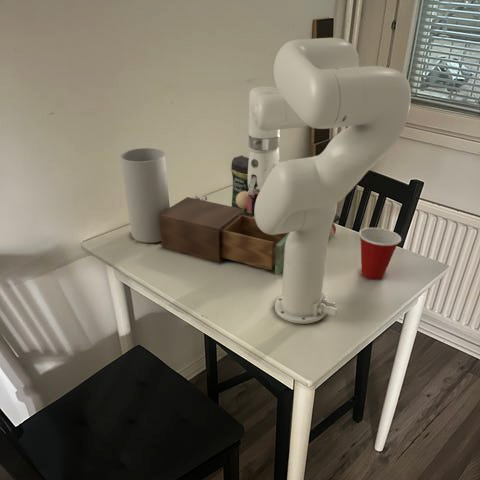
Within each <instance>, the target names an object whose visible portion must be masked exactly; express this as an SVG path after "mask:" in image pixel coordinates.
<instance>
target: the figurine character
mask: <svg viewBox="0 0 480 480" xmlns="http://www.w3.org/2000/svg"><path fill="white" fill-rule="evenodd" d="M341 220H342V217H341V216H339V215H337V214H335V218H334V221H333V224H332V227H331V230H330V234H329V238H332V237H333V236H334V235H335V234H336V232H337V226H336V224H335V223H337V222H338V221H341Z"/></svg>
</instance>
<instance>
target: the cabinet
mask: <svg viewBox="0 0 480 480" xmlns="http://www.w3.org/2000/svg"><path fill="white" fill-rule="evenodd" d="M239 215H244V209H240V208H236V207H232V205H231V206H230V205H227V204H221V203H216V202H212V201H208V200H206V201H203V200H199V199H196V198H195V197H189V196H187V197H184V198H183V199H181V200H180V201H179V202H177V203H175V204H174V205H172V206H170V208H169V209H167V210H165V211H164V212H162V213H161V214H159V220H160V230H161V239H162V241H161V248H162V249H164V250H168V251H172V252H175V253H179V254H182V255H186V256H189V257H193V258H198V259H201V260H204V261H209V262H212V263H216V264H221V263H222V262H223V261H224V260H226V258H222V257H221V248H220V230H221V229H223V228H224V227H225V226H226V225H228V224H229V223H230V222H232V221H233V220H234V219H235V218H237V217H238V216H239Z"/></svg>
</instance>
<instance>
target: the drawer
mask: <svg viewBox="0 0 480 480" xmlns="http://www.w3.org/2000/svg"><path fill="white" fill-rule="evenodd" d="M289 233H290V232H288V233H282V234H276V235H269V234H266V233H264V232H262V231H261V230H260V229H259V227H258V226H257V224H256V221H255V216H250V217H249V216H244V215H239V216H238V217H237V218H235V219H234V220H233V221H232V222H230V223H229V224H228V225H226V226H225V227H224V228H223V229H221V230H220V248H221V257H222V258H225V260H230V261H234V262H238V263H241V264H246V265H250V266H253V267H257V268H260V269H265V270H268V271H273V270H274V275H276V276H280V274H281V273H283V268H284V251H285V243H286V240H287V237H288V235H289Z"/></svg>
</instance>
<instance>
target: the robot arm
mask: <svg viewBox="0 0 480 480" xmlns="http://www.w3.org/2000/svg"><path fill="white" fill-rule="evenodd" d="M359 57H360V56H359V53H358V50H357V49H356V48H355V46H354V45H353V44H352V43H351V42H349V41H348V40H346V39H343V38H339V37H319V38H303V39H302V38H301V39H293V40H289V41H287V42H285V43H283V45H282V46H281V47H280V48H279V50H278V51H277V53H276V56H275V59H274V63H273V79H274V84H275V86H276V87H275V86H269V85H268V86H267V85H265V86H263V85H262V86H256V87H253V88H252V89H251V90H250V91H249V94H248V150H249V156H248V158H249V163H248V188H249V191H248V195H249V196H250V197H251V201H252V214H253V215H255V216H254V218H255V221H256V224H257V226H258V227H259V229H260V230H261V231H262V232H264V233H266V234H269V235H276V234H282V233H288V232H290V233H289V235H288V237H287V240H286V243H285V251H284V268H283V271H282V285H281V286H282V287H281V295H280V296H278V297H277V299H276V300H275V303H274V311H275V313H276V314H277V315H278V317H280V318H281V319H282V320H285V321H287V322H290V323H292V324H301V325H303V324H304V325H306V324H313V323H315V322H318V321H320V320H322V319H323V318H324V317H325V316H326V315H328V316H333V317H336V316H337V313H338V308H336V304H337V303H336V302H333V301H329V300H328V299H326V293H325V292H323V289H324V288H323V287H324V278H325V269H326V262H327V254H328V245H329V240H330V237H329V234H330V230H331V227H332V224H333V221H334V218H335V215H337V214H336V213H337V211H338V210H337V208H338V203H341V201H343V200H344V199H345V198H346V197H347V196H348V194H349V193H350V192H352V190H353V189H354V188H355V187H356V186H357V184H358V183H359V182H361V180H363V178H364V176H365V175H366V174H367V173H368V172H369V171H370V170H371V169H372V168H373V167H374V165H376V164H377V163H378V162H380V160H381V159H383V157H384V156H386V154H388V152H390V150H391V149H392V148H393V147H394V146H395V144H396V143H397V142H398V140H399V139H400V137H401V135H402V133H403V131H404V129H405V127H406V125H407V122H408V118H409V114H410V109H411V102H412V91H411V86H410V83H409V81H408V78H407V77H406V76H405V74H403V73H402V72H401V71H399V70H397V69H395V68H391V67H387V66H380V65H371V66H368V65H367V66H360V58H359ZM305 127H310V128H312V129H317V130H325V129H327V130H328V129H337V128H344V127H345V128H344V129H343V130H342V131H340V132H338V133H337V134H336V135H335V136H333V138H332V139H330V141H329V142H328V144H327V145H326V147H325V148H324V149H323V151H321V153H320V154H318V155H314V156H309V157H308V156H307V157H303V158H296V159H295V158H294V159H288V160H284V161H281V162H280V130H288V129H297V128H305ZM256 187H258V188H259V189H256ZM255 192H259V194H256V193H255Z"/></svg>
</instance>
